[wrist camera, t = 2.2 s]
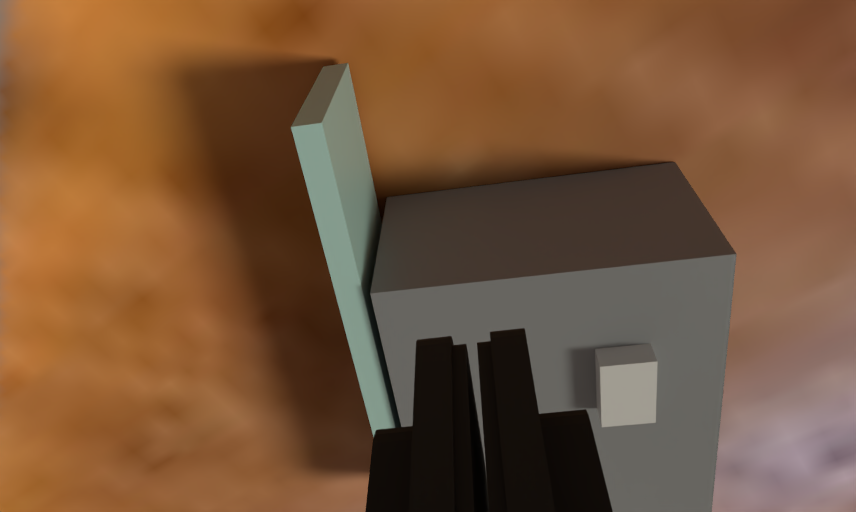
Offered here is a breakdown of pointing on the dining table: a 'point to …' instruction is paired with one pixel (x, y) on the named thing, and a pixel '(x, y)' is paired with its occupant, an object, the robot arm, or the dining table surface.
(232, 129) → the dining table surface
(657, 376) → the box
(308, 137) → the door
